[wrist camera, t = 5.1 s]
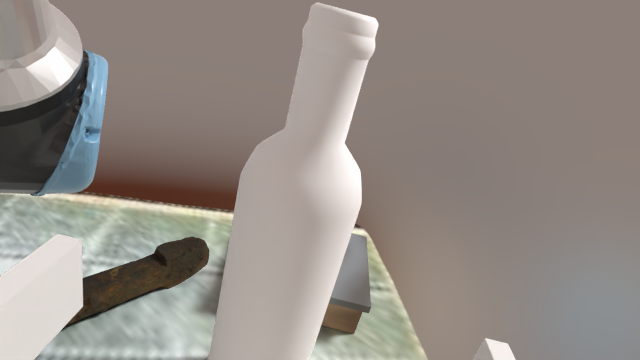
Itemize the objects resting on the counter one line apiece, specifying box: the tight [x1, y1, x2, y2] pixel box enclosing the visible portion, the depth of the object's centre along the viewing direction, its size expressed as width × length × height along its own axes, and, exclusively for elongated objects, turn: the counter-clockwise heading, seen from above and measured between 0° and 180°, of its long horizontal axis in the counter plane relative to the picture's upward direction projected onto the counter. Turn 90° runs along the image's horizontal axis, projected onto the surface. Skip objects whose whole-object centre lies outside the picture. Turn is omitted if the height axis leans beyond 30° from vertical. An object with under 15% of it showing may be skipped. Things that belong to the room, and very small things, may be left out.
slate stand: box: [321, 234, 371, 333], centre depth 45 cm, size 13×13×4 cm
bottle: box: [207, 3, 378, 360], centre depth 26 cm, size 8×8×30 cm
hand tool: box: [64, 237, 209, 327], centre depth 36 cm, size 19×4×5 cm, turn 136°
